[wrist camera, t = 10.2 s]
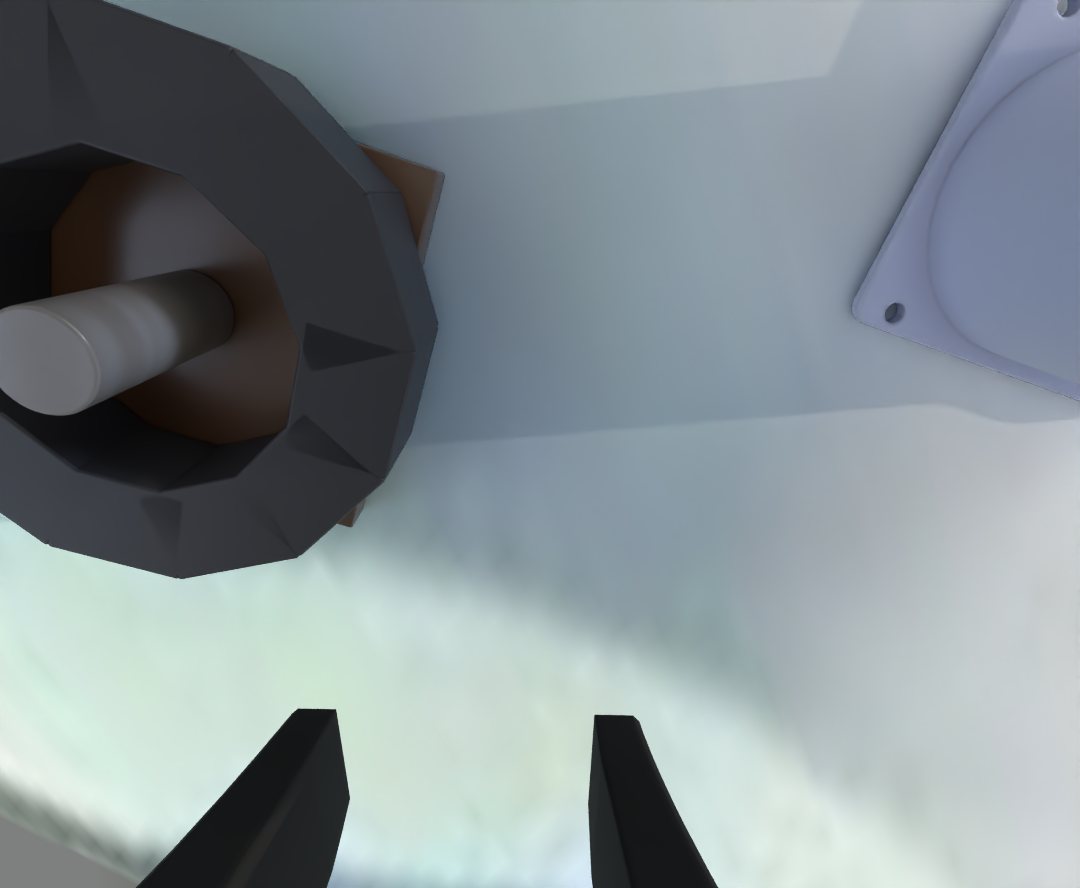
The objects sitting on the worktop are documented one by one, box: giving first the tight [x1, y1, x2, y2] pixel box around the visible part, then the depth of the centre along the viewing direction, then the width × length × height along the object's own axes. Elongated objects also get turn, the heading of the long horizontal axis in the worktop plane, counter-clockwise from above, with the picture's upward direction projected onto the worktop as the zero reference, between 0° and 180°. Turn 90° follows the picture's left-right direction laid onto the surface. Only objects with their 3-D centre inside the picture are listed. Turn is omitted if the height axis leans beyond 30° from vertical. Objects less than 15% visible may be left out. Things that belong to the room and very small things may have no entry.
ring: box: [0, 0, 438, 579], centre depth 14 cm, size 12×12×3 cm
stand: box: [0, 141, 445, 527], centre depth 13 cm, size 10×10×6 cm
